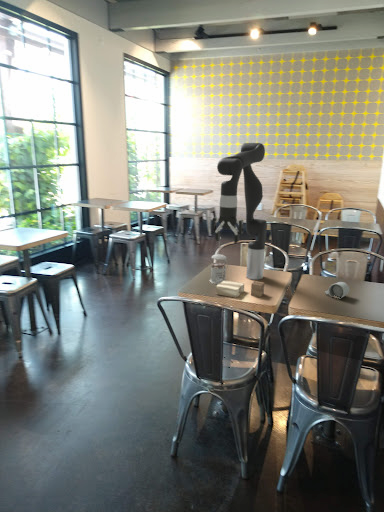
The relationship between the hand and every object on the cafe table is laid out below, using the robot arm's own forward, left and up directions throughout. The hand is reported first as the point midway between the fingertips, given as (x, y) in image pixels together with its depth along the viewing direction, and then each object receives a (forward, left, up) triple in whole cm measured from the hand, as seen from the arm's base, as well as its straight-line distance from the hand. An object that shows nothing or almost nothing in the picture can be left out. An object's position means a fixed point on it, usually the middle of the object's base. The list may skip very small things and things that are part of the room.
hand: (226, 241), depth 170 cm
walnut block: (-19, +10, -29) cm, 36 cm away
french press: (-29, -15, -30) cm, 44 cm away
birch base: (-15, -3, -29) cm, 33 cm away
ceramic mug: (-36, +45, -30) cm, 65 cm away
